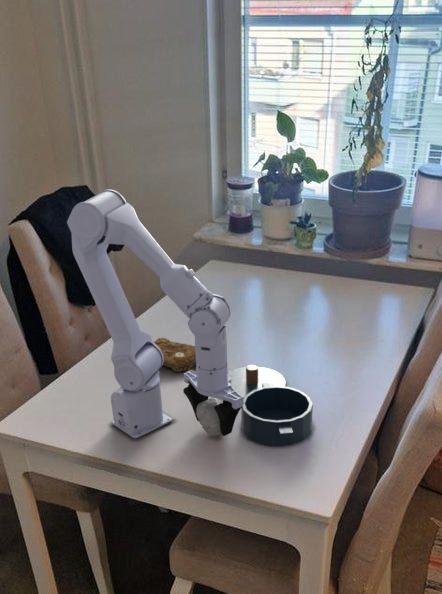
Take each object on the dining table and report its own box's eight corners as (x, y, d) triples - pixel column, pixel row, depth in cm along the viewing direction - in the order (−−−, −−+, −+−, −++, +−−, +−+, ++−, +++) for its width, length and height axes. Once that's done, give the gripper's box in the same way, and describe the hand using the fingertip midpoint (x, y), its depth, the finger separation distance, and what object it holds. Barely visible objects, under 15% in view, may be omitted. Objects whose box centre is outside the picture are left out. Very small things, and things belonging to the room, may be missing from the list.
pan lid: (278, 368, 152) (278, 349, 150) (291, 400, 140) (292, 380, 138) (215, 373, 151) (214, 355, 148) (223, 406, 139) (222, 386, 136)
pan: (299, 400, 140) (300, 376, 137) (321, 451, 125) (323, 426, 122) (235, 405, 139) (235, 382, 136) (250, 458, 123) (250, 433, 120)
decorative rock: (130, 365, 156) (185, 381, 150) (128, 350, 154) (184, 365, 148) (157, 343, 164) (210, 358, 158) (155, 328, 161) (210, 342, 155)
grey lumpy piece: (209, 420, 134) (207, 390, 131) (238, 431, 131) (237, 400, 127) (190, 435, 130) (188, 404, 127) (220, 446, 127) (219, 414, 123)
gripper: (255, 369, 120) (255, 432, 127) (202, 344, 129) (205, 404, 137) (226, 383, 116) (228, 447, 124) (173, 356, 125) (178, 417, 133)
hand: (214, 426), depth 130 cm, fingers closed on grey lumpy piece, 7 cm apart
